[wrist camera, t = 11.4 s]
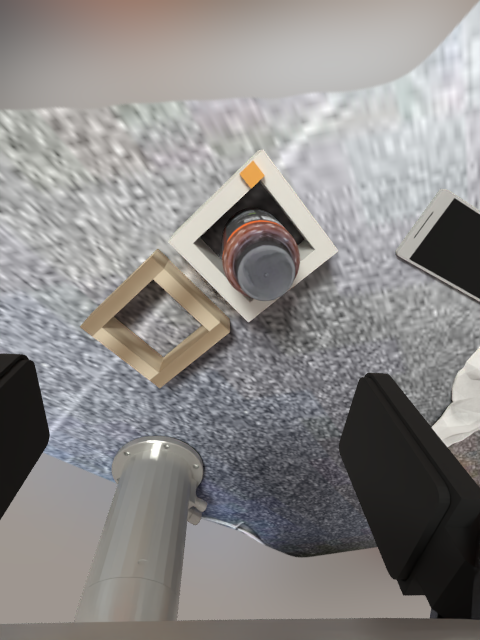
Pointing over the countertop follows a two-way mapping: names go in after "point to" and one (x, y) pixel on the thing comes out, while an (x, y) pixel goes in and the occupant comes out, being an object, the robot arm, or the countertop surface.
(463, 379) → the cloth
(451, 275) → the smartphone
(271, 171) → the socket block
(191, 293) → the block
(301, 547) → the countertop surface
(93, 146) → the countertop surface
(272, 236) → the supplement bottle
